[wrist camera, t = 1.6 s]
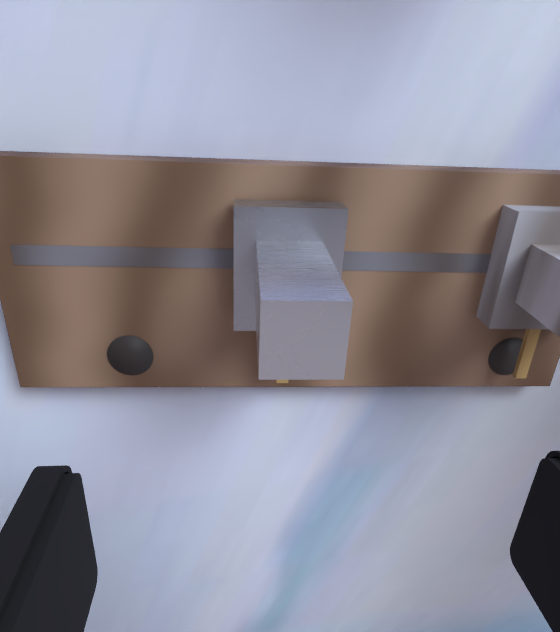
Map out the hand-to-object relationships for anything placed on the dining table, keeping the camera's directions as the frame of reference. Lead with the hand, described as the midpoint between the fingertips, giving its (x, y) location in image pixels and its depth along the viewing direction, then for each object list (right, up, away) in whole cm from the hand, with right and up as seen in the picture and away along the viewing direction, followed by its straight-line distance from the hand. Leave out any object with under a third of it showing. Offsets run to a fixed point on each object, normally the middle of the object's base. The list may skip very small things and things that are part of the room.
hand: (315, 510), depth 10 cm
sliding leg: (-1, +5, +14) cm, 15 cm away
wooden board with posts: (0, +6, +16) cm, 17 cm away
